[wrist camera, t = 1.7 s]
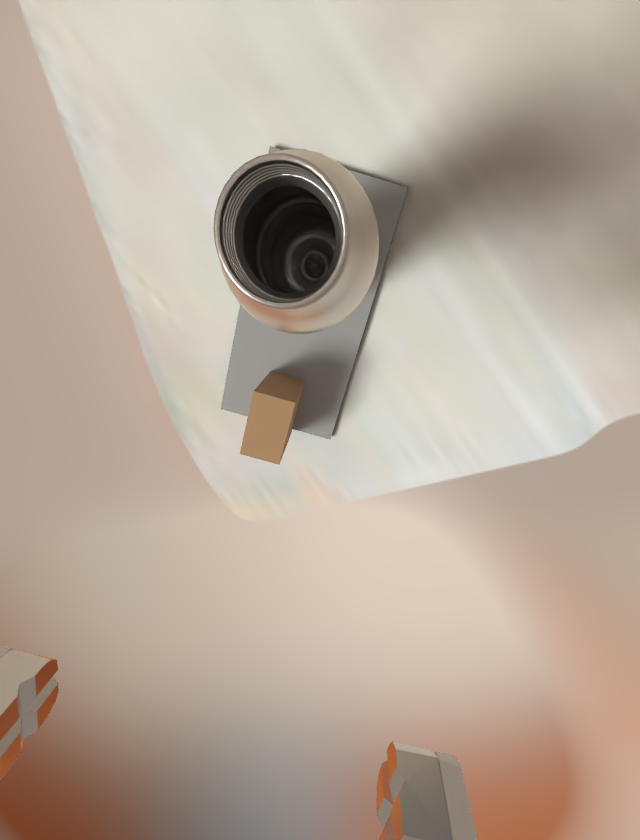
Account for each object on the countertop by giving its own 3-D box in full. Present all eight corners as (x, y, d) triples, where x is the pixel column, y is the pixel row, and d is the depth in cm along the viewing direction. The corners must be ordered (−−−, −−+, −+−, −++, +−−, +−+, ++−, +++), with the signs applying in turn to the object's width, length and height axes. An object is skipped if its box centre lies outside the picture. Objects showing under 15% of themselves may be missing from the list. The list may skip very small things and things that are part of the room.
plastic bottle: (278, 315, 30) (188, 374, 11) (266, 220, 28) (126, 93, 9) (360, 307, 30) (408, 354, 11) (354, 209, 27) (402, 55, 9)
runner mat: (271, 148, 27) (248, 110, 21) (407, 189, 27) (423, 163, 21) (221, 412, 34) (193, 440, 28) (329, 442, 34) (324, 477, 28)
